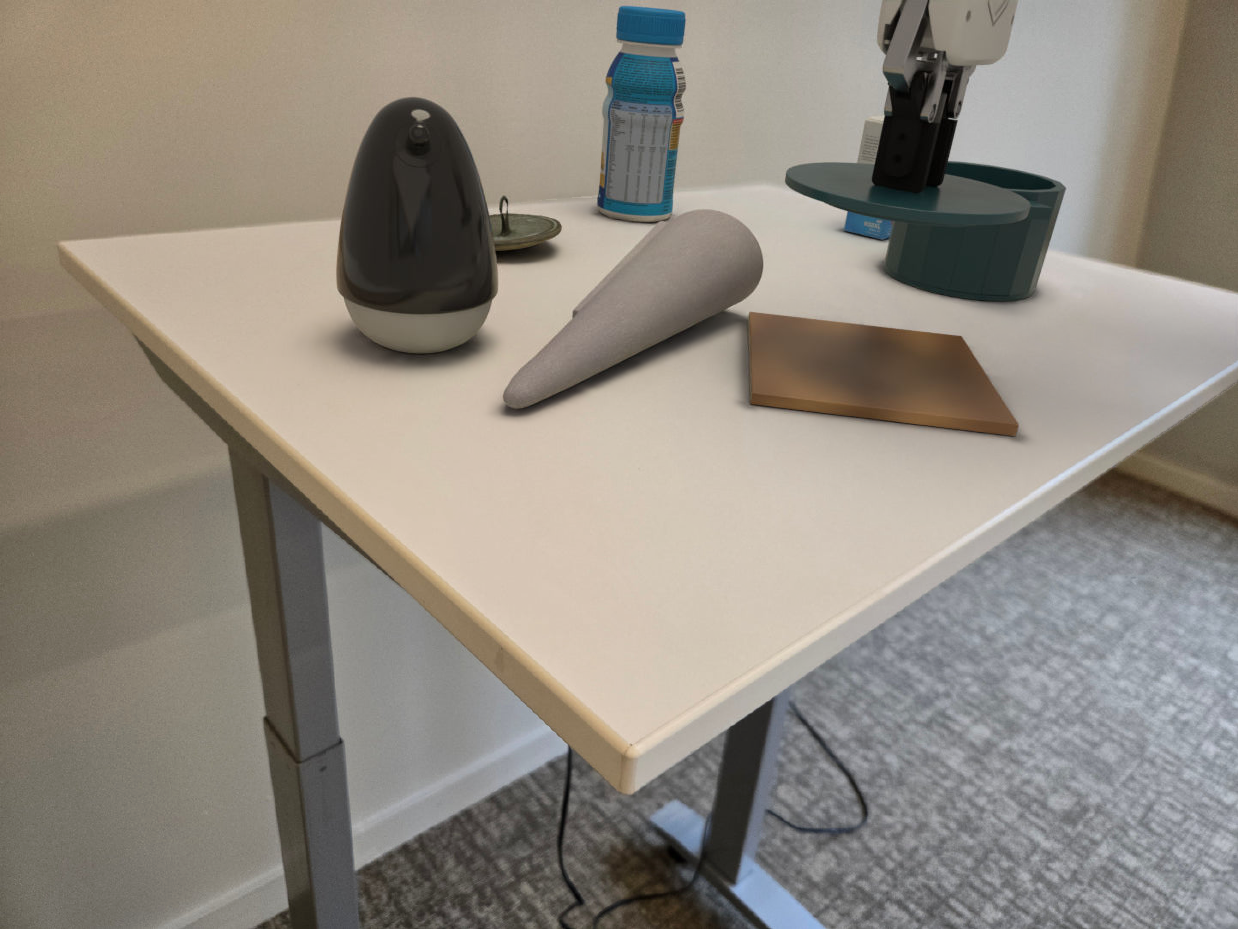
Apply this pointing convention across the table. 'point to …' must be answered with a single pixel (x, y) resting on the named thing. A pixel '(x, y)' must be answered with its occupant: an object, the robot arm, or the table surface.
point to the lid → (521, 229)
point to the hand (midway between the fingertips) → (907, 183)
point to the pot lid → (908, 195)
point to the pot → (980, 243)
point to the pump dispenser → (416, 233)
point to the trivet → (872, 374)
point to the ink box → (868, 156)
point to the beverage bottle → (642, 116)
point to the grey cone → (647, 300)
